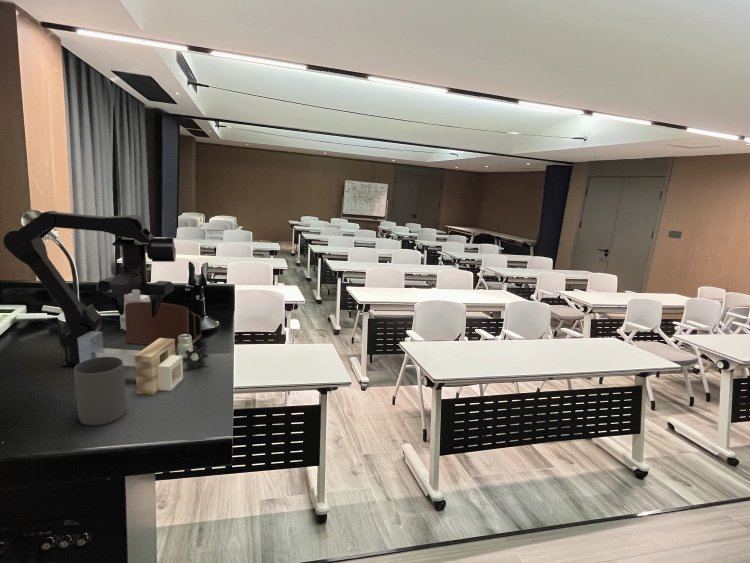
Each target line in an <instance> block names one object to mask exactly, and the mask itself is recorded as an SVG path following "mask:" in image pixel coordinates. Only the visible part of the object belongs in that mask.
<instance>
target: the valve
mask: <svg viewBox="0 0 750 563" xmlns="http://www.w3.org/2000/svg"><path fill="white" fill-rule="evenodd" d="M191 341H192V337H191V335H189V334H182V335H179V336H178V342H179V343H178V345H177V347H176V348H177V351H178V352H177V353H178V356H182V362H184V363H186V364H185V367H186V368H187V369H189V368H191V367H192V368H193V369H195V370H198V369H199V365H202V366H204V365H205V364H206V362H205V360H204V359H207V358H208V357H209V355H208V353H204V352H206V349H205V347H199V348H200V349H198V347H197V346H195V345H194V344H192V342H191ZM199 354H200V359H199ZM190 359H191V360H192V362H191V361H190ZM198 360H199V361H198ZM196 361H197V362H196Z"/></svg>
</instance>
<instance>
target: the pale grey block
mask: <svg viewBox="0 0 750 563" xmlns="http://www.w3.org/2000/svg"><path fill="white" fill-rule="evenodd" d="M103 335H104V333H103V331H96V332H95V331H90V332H88V333H86V334H84V335H83V336H81V337H79V338H78V349H79V359H80V363H81V362H83V361H86V360H89V359H93V358H98V357H116V358H119V359H121V360H122V362H123V367H124V366H125V367H135V355H136V354H137V353H139V352H140V351H141V350H137V349H136V350H135V349H121V348H106V347H104V336H103Z"/></svg>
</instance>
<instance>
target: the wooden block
mask: <svg viewBox="0 0 750 563" xmlns="http://www.w3.org/2000/svg"><path fill="white" fill-rule="evenodd" d="M139 351H140V352H139V353H137V354H136V355H135V366H134V369H135V381H136V394H140V395H151V396H153V395H155V394H156V393H157V392H158V391H160V390H159V387H158V368H157V366H158V365H159V364H161V363H162V362H163V361H164V360H166V359H167V358H168V357H169V356H170V355H176V347H175V339H168V338H159V339H157V340H156V341H155V342H153V343H152V344H150V345H146V346H145V347H144V348H143V349H142V350H139Z"/></svg>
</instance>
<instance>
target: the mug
mask: <svg viewBox="0 0 750 563" xmlns="http://www.w3.org/2000/svg"><path fill="white" fill-rule="evenodd" d="M73 375H74V376H73V378H74V388H75V389H74V390H75V391H74V392H75V399H76V409H77V415H78V419H79V421H80V423H81V424H83V425H85V426H101V425H106V424H109V423H112V422H115V421H117V420H119V419H120V418H122V417H123V416H125V413H126V412H127V397H126V396H127V394H126V393H127V392H126V381H125V379H126V378H125V367H124V366H123V362H122V360H121V359H119V358H116V357H98V358H93V359H89V360H86V361H83V362H81V363H79V364H77V365H76V366H74V368H73Z"/></svg>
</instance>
